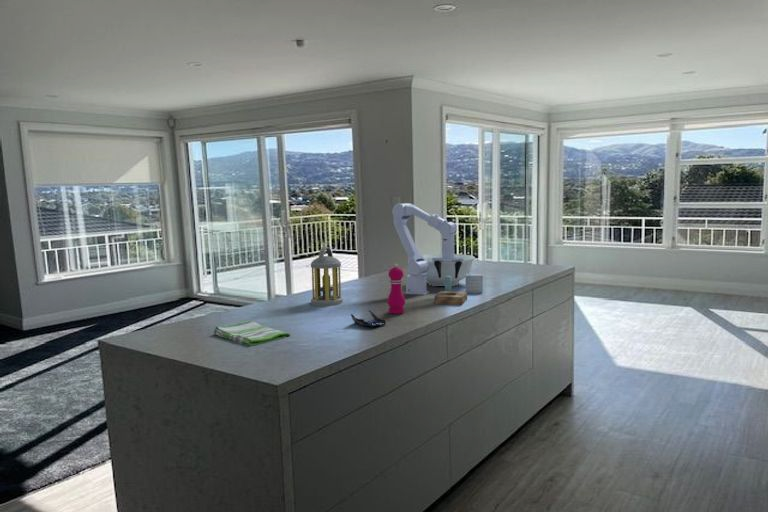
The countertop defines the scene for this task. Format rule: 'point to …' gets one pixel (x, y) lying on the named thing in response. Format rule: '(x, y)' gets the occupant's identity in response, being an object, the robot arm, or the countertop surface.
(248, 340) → the dish towel
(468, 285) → the medicine box
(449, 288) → the peg
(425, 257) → the bowl
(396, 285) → the pepper mill
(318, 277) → the lantern
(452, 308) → the countertop surface
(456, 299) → the socket block
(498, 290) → the countertop surface
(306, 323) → the countertop surface
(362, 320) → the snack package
